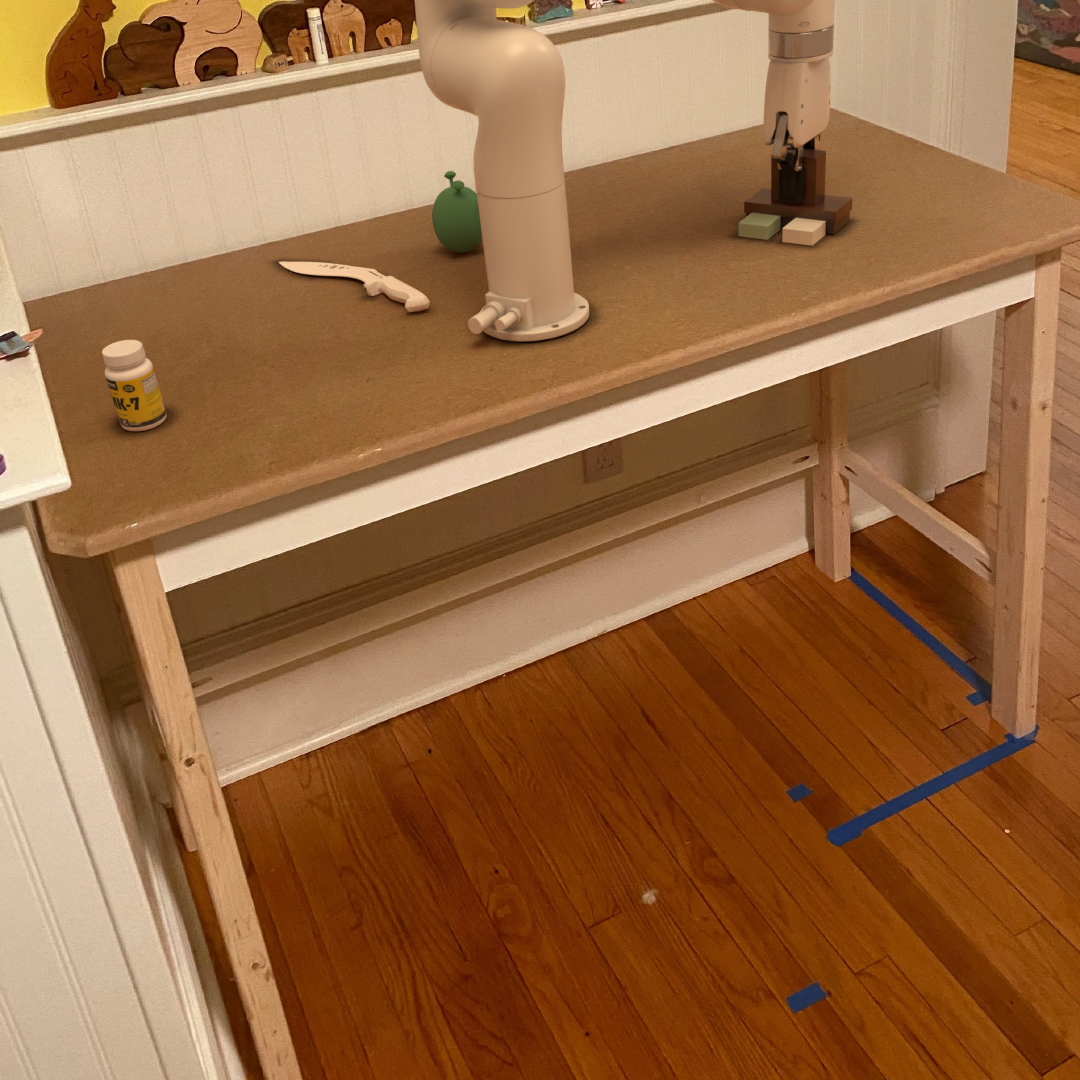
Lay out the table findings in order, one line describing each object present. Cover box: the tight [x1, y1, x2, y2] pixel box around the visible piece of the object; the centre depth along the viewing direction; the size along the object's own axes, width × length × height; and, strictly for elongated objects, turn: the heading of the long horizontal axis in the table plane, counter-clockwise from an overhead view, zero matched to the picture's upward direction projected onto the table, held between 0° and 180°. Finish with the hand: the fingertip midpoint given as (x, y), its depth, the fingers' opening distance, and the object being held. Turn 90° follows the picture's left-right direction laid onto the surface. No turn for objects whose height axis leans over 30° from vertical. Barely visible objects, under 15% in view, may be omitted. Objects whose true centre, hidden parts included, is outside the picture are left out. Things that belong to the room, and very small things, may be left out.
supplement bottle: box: [101, 339, 168, 432], centre depth 124 cm, size 5×5×8 cm
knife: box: [278, 261, 431, 313], centre depth 152 cm, size 30×2×8 cm
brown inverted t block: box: [743, 149, 853, 235], centre depth 153 cm, size 5×12×9 cm, turn 56°
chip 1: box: [737, 213, 782, 241], centre depth 154 cm, size 4×4×2 cm
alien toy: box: [431, 170, 483, 254], centre depth 156 cm, size 7×8×10 cm
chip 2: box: [781, 218, 826, 247], centre depth 151 cm, size 4×4×2 cm
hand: (797, 194), depth 154 cm, fingers closed on brown inverted t block, 3 cm apart
